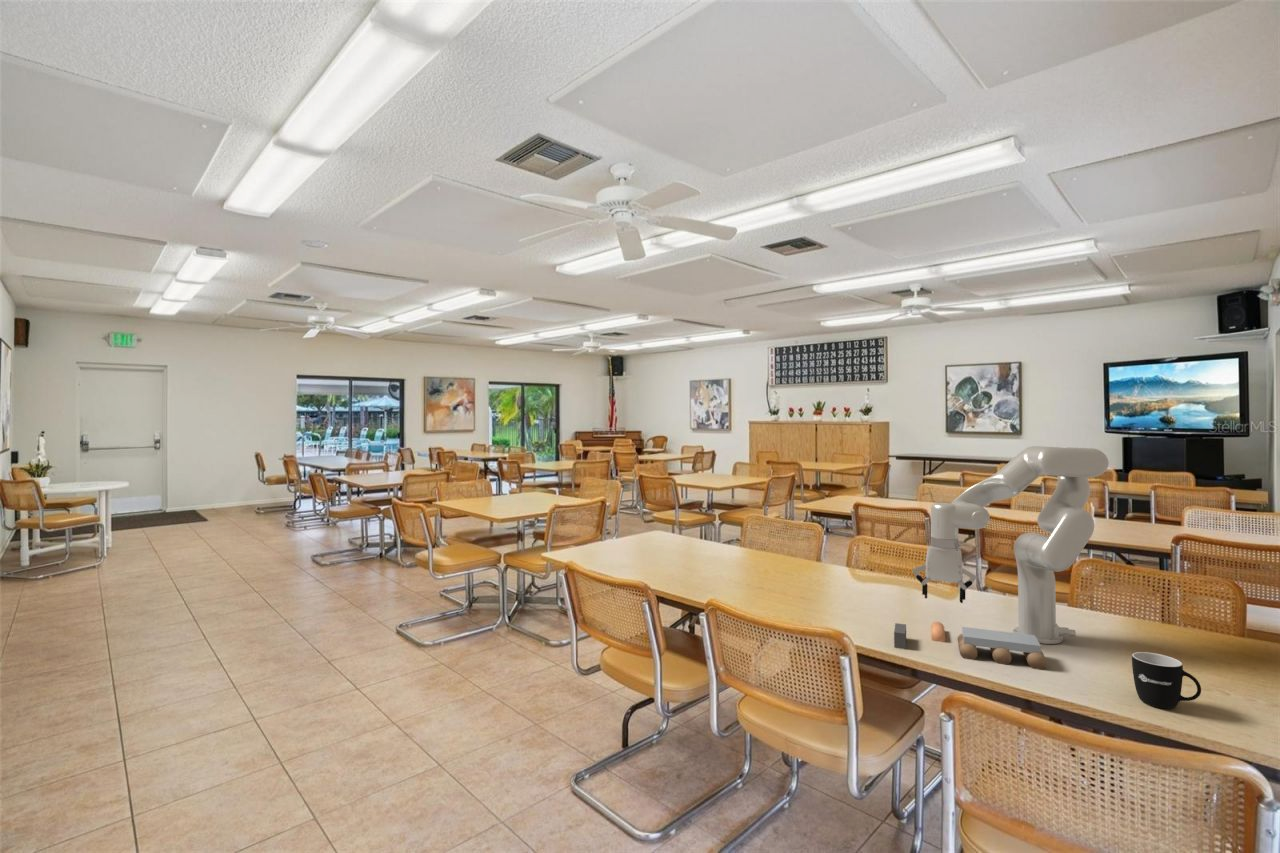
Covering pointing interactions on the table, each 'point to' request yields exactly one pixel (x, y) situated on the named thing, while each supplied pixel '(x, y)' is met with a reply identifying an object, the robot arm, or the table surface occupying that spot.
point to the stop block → (900, 636)
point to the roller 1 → (938, 632)
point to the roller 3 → (1036, 660)
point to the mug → (1160, 679)
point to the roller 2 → (966, 649)
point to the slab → (1001, 640)
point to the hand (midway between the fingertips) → (943, 599)
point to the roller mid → (1001, 655)
